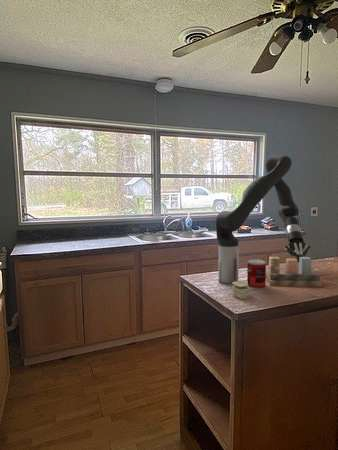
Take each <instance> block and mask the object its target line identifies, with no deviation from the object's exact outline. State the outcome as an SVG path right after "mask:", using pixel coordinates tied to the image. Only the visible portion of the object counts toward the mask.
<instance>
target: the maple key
mask: <svg viewBox="0 0 338 450" xmlns="http://www.w3.org/2000/svg"><path fill="white" fill-rule="evenodd" d="M268 259H269V260H268V272H269V273H270V274H279V273H280V272H281V271H280V269H281V268H280V262H281V258H279V257H278V256H269V257H268Z"/></svg>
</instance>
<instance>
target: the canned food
mask: <svg viewBox="0 0 338 450" xmlns="http://www.w3.org/2000/svg"><path fill="white" fill-rule="evenodd" d="M246 263H247V270H246V273H247V279H246V280H247V281H246V283H247V284H248V286H249V287H250V288H255V289H262V288H265V287H266V281H267V280H266V272H267V262H266V260H265V261H264V260H262V259H249V260H247V261H246Z"/></svg>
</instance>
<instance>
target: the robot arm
mask: <svg viewBox="0 0 338 450" xmlns="http://www.w3.org/2000/svg"><path fill="white" fill-rule="evenodd" d="M291 167H292V158H291V157H289V156H287V155H278V154H277V155H276V154H275V155H274V154H273V155H269V156H268V157H267V159H266V161H265V169H266V172H267V173H266V174H264V175H261V176H260V177H258V178H256V179H254V180H253V181H251V182H250V183H249V185H248V186H247V187H246V188H245V189H244V191H243V193H242V198H241V202H240V203H239V204H238V206H236V208H235V209H233V210H232V211H229V210H227V211H226V210H222V211H220V212H219V213H218V214H217V216H216V219H215V231H216V232H215V233H216V239H217V243H218V260H217V261H218V265H217V267H218V283H224V284H232V282H236V281H239V239H238V238H237V237H236V236H235V235H234V233H233V232H236V231H238V230H239V229H241V227H242V226H243V225H244V224H245V221H246V220H247V219H248V217H249V216H250V214H251V213H252V212H253V211H254V209H255V208H256V207H257V206H258V205H259V203H261V201H262V200H263V199H264V198H265V196H267V194H268V193H269V191H271V189H272V188H274V189H275V191H276V194H277V198H278V202H279V205H281V207H280V208H279V209H278V216H279V218H280V219H281V220H282V221H283V224H284V228H285V234H286V235H285V236H286V240H287V243H288V244H287V245H285V246H284V251H286V252H287V254H289V255H290V256H291V257H295V259H296V260H298V263H299V257H306V256H307V254H308V252H309V250H310V249H311V245H306V243H305V240H304V238H303V233H302V230H301V227H300V223H299V220H298V218H297V217H298V215H299V212H300V209H299V207H298V206H297V204H296V203H295V202H294V199H293V195H292V190H291V188H290V187H289V185H288V184H287V183H286V182H285V180H284V179H283V178H284V176H285V175H286V174H287V173H288V172H290V169H291ZM303 250H304V251H303Z"/></svg>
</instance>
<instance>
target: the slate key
mask: <svg viewBox="0 0 338 450" xmlns="http://www.w3.org/2000/svg"><path fill="white" fill-rule="evenodd" d="M298 265H299V266H298V272H299V274H311V273H312V258H311V257H309V256H303V257H299V262H298Z"/></svg>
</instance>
